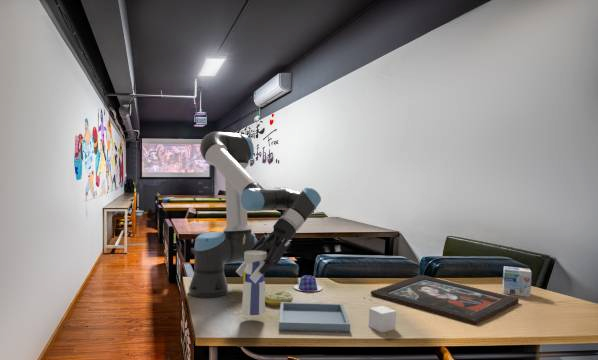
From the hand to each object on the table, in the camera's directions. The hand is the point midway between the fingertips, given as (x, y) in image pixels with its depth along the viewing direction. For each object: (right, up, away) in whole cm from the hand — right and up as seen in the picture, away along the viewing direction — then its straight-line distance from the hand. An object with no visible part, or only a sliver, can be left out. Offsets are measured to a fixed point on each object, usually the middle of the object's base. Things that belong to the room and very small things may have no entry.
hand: (245, 277), depth 135 cm
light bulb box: (+111, -18, +47) cm, 122 cm away
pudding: (+21, -15, +43) cm, 50 cm away
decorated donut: (+9, -15, +23) cm, 29 cm away
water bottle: (+2, -12, +2) cm, 12 cm away
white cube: (+44, -17, 0) cm, 47 cm away
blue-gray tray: (+22, -15, +5) cm, 27 cm away
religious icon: (+75, -18, +35) cm, 85 cm away
